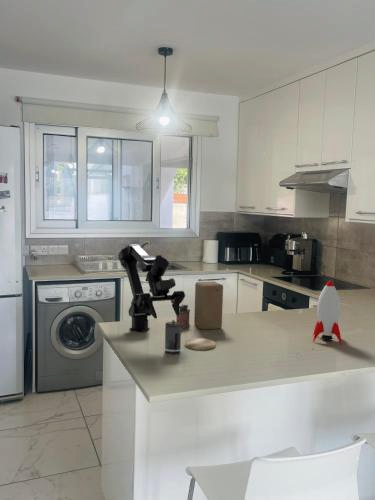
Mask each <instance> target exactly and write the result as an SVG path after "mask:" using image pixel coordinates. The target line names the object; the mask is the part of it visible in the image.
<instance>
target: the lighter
mask: <svg viewBox="0 0 375 500" xmlns="http://www.w3.org/2000/svg"><path fill="white" fill-rule="evenodd" d="M190 312H191V309H190V308H189V304H181V305H179V316H178V317H177V316H176V320H175V322H179V323H181V329H185V328H188V327H190Z"/></svg>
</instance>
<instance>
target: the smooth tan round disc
mask: <svg viewBox="0 0 375 500" xmlns="http://www.w3.org/2000/svg"><path fill="white" fill-rule="evenodd" d="M184 346H185V347H186V348H187V349H189V350H194V351H195V350H196V351H210V350H212V349H215V348H216V347H217V345H216V342H215V340H212V339H209V338H201V337H200V338H198V337H197V338H190V339H187V340H185V341H184Z"/></svg>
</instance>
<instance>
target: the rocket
mask: <svg viewBox="0 0 375 500" xmlns="http://www.w3.org/2000/svg"><path fill="white" fill-rule="evenodd" d="M321 290H322V291H321V292H320V293H319V297H318V301H317V305H316V309H317V310H316V311H317V312H316V313H317V319H318V320H317V321H316V324H315V327H314V329H313V333H312V334H313V335H312V336H313V339H312V340H313V341H312V343H314V342H315V341H316V340H317V337H319V335H320V334H321V339H323V340H329V341H330V340H333V339H334V338H333V336H334V335H335V337H336V338H337V340H338V342H339V343H340V345H341V346H342V345H343V344H342V337H341V331H340V327H339V323H338V322H339V318H340V313H341V300H340V297H339V294H338V291H337V289H336V286H335V284H334V283H333V282H332V280H329V281H327V283H326V284H325V286H324V287H323V289H321Z"/></svg>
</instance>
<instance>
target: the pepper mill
mask: <svg viewBox="0 0 375 500" xmlns="http://www.w3.org/2000/svg"><path fill="white" fill-rule="evenodd" d="M164 330H165V331H164V338H165V339H164V353H165V354H168V355H178V354H180V353H181V345H182V344H181V343H182V342H181V338H182V337H181V336H182V328H181V323H179V322H176V320H175V319H172V320H171V321H168V322H166V323H165V329H164Z"/></svg>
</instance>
